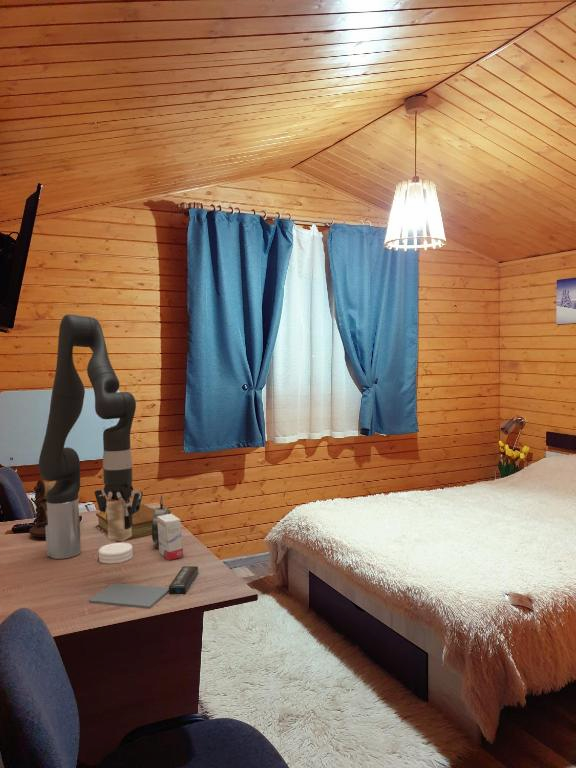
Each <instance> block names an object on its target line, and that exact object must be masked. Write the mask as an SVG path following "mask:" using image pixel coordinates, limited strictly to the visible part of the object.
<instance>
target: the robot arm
mask: <svg viewBox="0 0 576 768" xmlns="http://www.w3.org/2000/svg"><path fill="white" fill-rule="evenodd" d="M102 328H103V327H102V326H101V323H100V322H99V320H97V318H95V317H91V316H84V315H78V314H65V315H64V316H63V317H62V318H61V321H60V325H59V330H58V339H57V340H58V341H57V342H58V343H57V357H56V368H55V372H54V380H53V386H52V391H51V395H50V396H51V398H50V405H49V414H48V417H47V418H48V419H47V423H46V424H47V425H46V430H45V431H46V432H45V435H44V439H43V443H42V446H41V450H40V455H39V458H38V473H39V475H40V477H41V478H42V480H45V481H46V482H54V481H55V480H57V481H56V483H55V485H54V486H53V488H51V489H50V490H49V491H48V492H47V495H46V499H47V515H48V525H46V527H45V530H46V540H45V542H46V557H50V558H52V559H55V560H56V559H57V560H60V559H68V558H69V559H70V558H73V557H76V556H78V555H80V554H81V552H82V543H81V541H82V540H81V527H80V525H81V524H80V522H81V521H80V508H79V506H80V505H79V491H80V489H81V461H80V457H79V453H77V451H76V450H75V449H74V448H72V447H65V444H66V440H67V438H68V435H69V434H70V432H71V431H72V429H73V428H74V426H75V424H76V423H77V422H78V419H79V418H80V416H81V414H82V412H83V411H82V410H83V406H84V401H85V400H84V399H85V396H86V395H85V394H86V393H85V392H86V391H85V385H84V383H83V381H82V378H81V377H80V374H79V372H78V371H77V369H76V366H75V363H74V355H73V353H74V347H79V348H80V347H81V348H89V349H90V350H91V352H92V355H91V356H90V359H89V361H88V363H87V368H86V373H87V377H88V379H89V382H90V384H91V387H92V389H93V393H94V410H95V413H96V415H97V416H98V417H99V418H100V419H103V420H115V419H118V422H117V424H116V425H113V426H110V427H107V428H106V429H104V430H103V434H102V443H103V445H102V447H103V456H102V470H103V484H104V487H103V488H99V489H96V490H95V491H94V495H95V496H94V497H95V499H96V502H97V506H98V509H99V512H105V513H106V518H107V500H108V499H110V500H112V499H119V500H123V508H124V514H125V516H124V522H125V529H129V528H131V526H132V524H133V522H132V514H134V513H136V512H138V511H139V508H140V504H142V498H143V493H144V492H143V491H142V490H141V491H137V490H134V486H133V462H132V461H133V458H132V457H133V455H132V449H131V432H132V431H131V430H132V425H133V421H134V417H135V413H136V408H137V402H136V399H135V397H134V395H133V394H132V393H131V392H128V391H120V392H118V390H120V389H119V388H120V381H119V378H118V376H117V375H116V372H115V370H114V368H113V365H112V364H111V360H110V358H109V354H108V349H107V345H106V340H105V336H104V333H103V330H102ZM130 497H131V499H130ZM128 500H129V501H128ZM127 501H128V503H127V504H125V502H127ZM107 525H108V522H107Z"/></svg>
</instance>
